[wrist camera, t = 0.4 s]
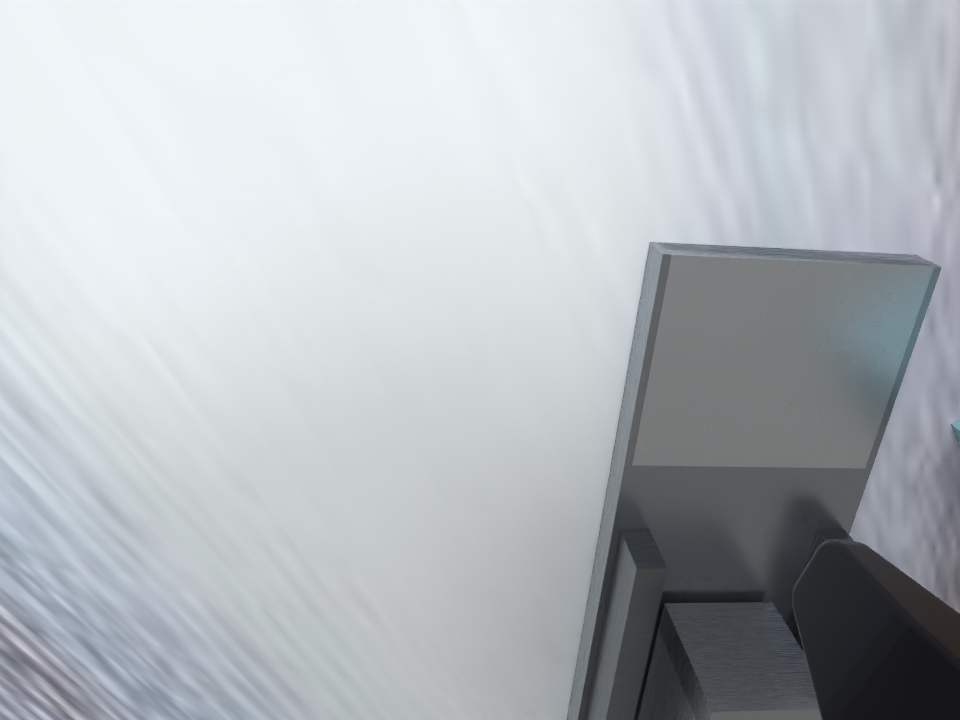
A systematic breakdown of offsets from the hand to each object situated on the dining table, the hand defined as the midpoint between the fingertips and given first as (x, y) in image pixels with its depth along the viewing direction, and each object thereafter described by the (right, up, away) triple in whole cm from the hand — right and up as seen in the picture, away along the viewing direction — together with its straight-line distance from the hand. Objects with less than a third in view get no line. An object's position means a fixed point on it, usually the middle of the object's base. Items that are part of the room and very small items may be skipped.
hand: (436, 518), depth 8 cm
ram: (+9, -11, +20) cm, 24 cm away
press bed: (+9, -5, +19) cm, 22 cm away
